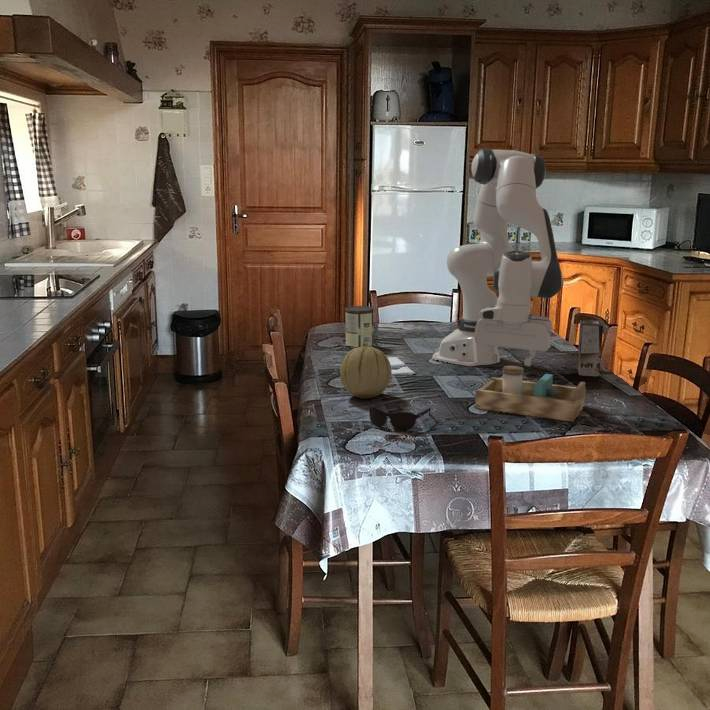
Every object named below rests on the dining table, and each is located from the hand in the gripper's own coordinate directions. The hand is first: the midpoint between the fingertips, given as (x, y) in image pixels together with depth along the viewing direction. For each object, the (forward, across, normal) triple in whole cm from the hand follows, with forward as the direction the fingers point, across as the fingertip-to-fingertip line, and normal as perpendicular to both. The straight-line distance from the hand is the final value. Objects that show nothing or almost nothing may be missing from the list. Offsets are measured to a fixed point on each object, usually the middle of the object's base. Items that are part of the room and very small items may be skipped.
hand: (510, 363), depth 212 cm
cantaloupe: (+12, +38, +12) cm, 41 cm away
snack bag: (+13, +48, -18) cm, 53 cm away
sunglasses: (+12, +20, +26) cm, 35 cm away
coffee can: (+13, +68, -44) cm, 82 cm away
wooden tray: (+11, -6, 0) cm, 13 cm away
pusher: (+10, -11, 0) cm, 15 cm away
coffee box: (+12, -13, -44) cm, 47 cm away
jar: (+10, -1, 0) cm, 10 cm away
